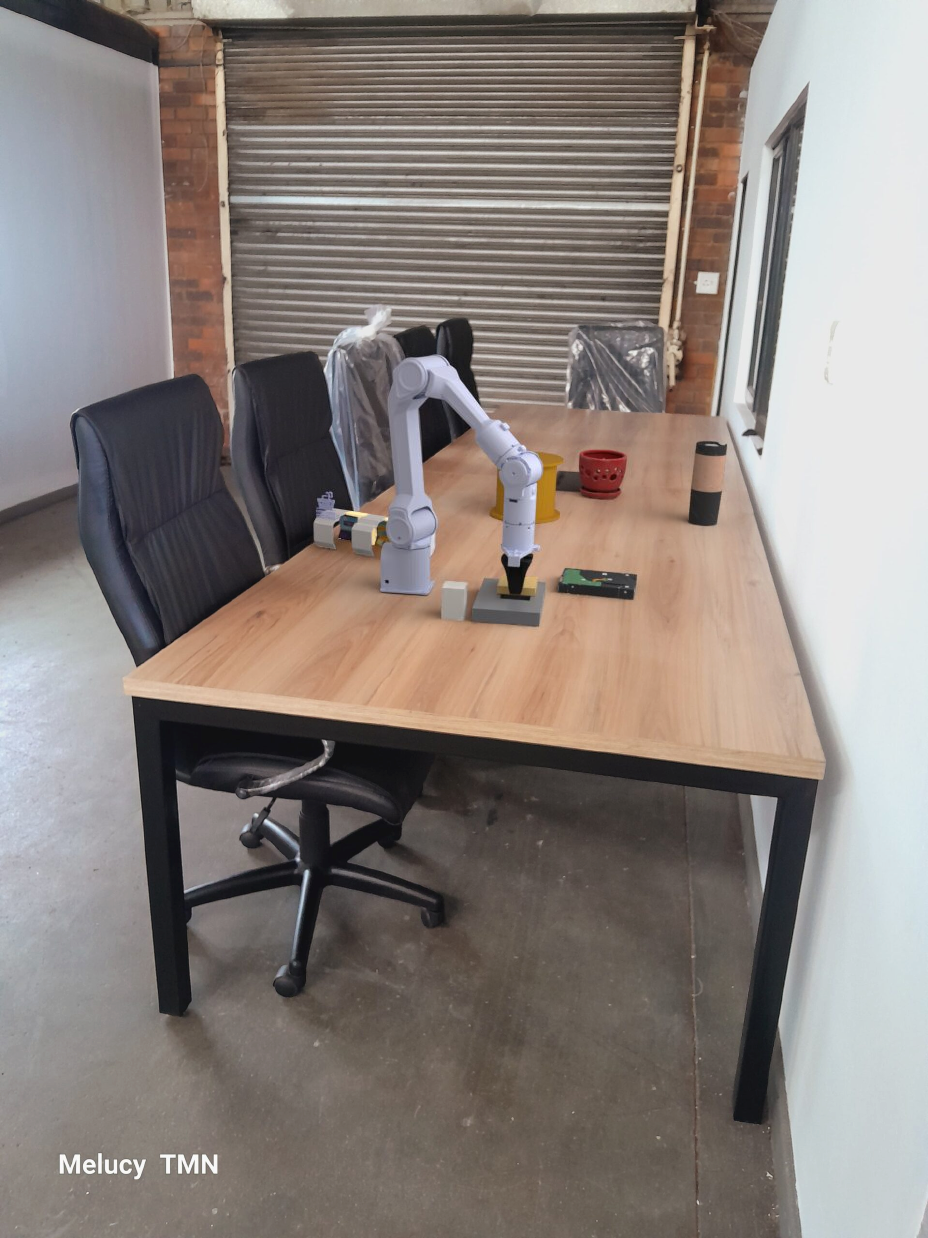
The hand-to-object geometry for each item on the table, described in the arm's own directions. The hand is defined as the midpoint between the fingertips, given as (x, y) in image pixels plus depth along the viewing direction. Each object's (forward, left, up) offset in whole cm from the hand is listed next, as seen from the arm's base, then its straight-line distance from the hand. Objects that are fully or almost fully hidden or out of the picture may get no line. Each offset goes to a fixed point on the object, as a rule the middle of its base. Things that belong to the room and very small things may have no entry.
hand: (515, 593), depth 175 cm
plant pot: (+15, +100, -3) cm, 101 cm away
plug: (-10, -6, -3) cm, 12 cm away
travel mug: (+41, +76, -3) cm, 87 cm away
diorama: (-34, +32, -4) cm, 47 cm away
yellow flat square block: (0, +4, -1) cm, 4 cm away
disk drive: (+15, +16, -4) cm, 22 cm away
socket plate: (-1, +1, -3) cm, 4 cm away
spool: (-4, +73, -3) cm, 73 cm away
